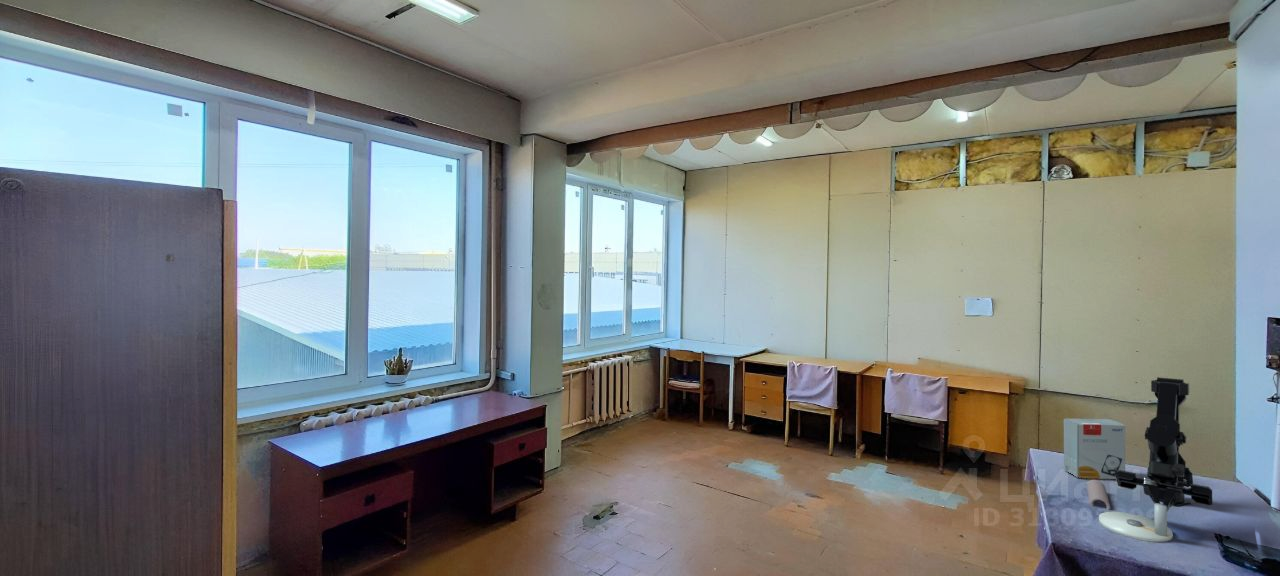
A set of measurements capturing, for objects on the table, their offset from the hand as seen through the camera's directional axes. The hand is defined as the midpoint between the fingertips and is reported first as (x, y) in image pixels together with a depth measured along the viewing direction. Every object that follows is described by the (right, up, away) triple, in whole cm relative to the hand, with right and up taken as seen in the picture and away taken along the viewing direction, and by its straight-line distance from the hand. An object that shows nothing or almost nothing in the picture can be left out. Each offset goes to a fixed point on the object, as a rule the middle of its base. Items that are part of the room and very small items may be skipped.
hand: (1161, 515), depth 139 cm
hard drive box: (+21, -6, +44) cm, 49 cm away
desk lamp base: (-2, -6, +5) cm, 8 cm away
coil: (+5, -7, +24) cm, 26 cm away
